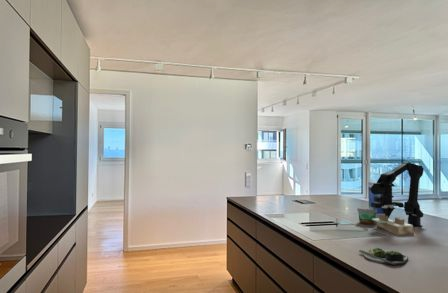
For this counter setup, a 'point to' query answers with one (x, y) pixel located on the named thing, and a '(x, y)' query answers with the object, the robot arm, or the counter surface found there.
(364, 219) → the food container
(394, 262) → the salad plate
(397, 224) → the lid
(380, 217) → the cover
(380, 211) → the string lights box
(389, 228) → the box
